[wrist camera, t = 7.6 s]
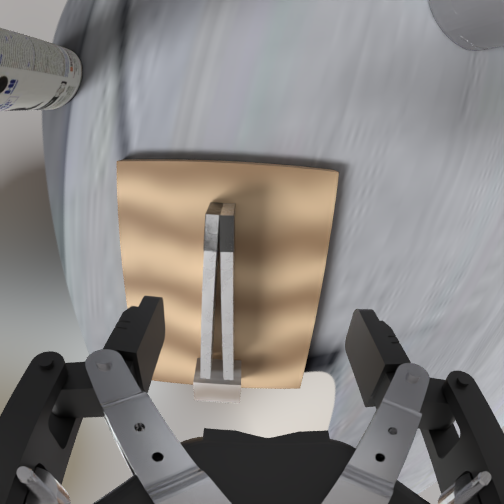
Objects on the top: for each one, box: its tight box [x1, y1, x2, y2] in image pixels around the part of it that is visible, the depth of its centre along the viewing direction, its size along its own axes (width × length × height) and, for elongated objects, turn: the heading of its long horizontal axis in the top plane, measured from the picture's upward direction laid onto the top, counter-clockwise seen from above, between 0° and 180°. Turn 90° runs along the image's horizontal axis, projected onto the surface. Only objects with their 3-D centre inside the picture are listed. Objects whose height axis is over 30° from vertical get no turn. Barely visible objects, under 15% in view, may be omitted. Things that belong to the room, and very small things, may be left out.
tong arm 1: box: [200, 202, 223, 379], centre depth 29 cm, size 17×1×4 cm, turn 174°
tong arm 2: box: [220, 203, 236, 380], centre depth 29 cm, size 17×1×4 cm, turn 178°
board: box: [117, 159, 339, 403], centre depth 31 cm, size 26×20×6 cm
